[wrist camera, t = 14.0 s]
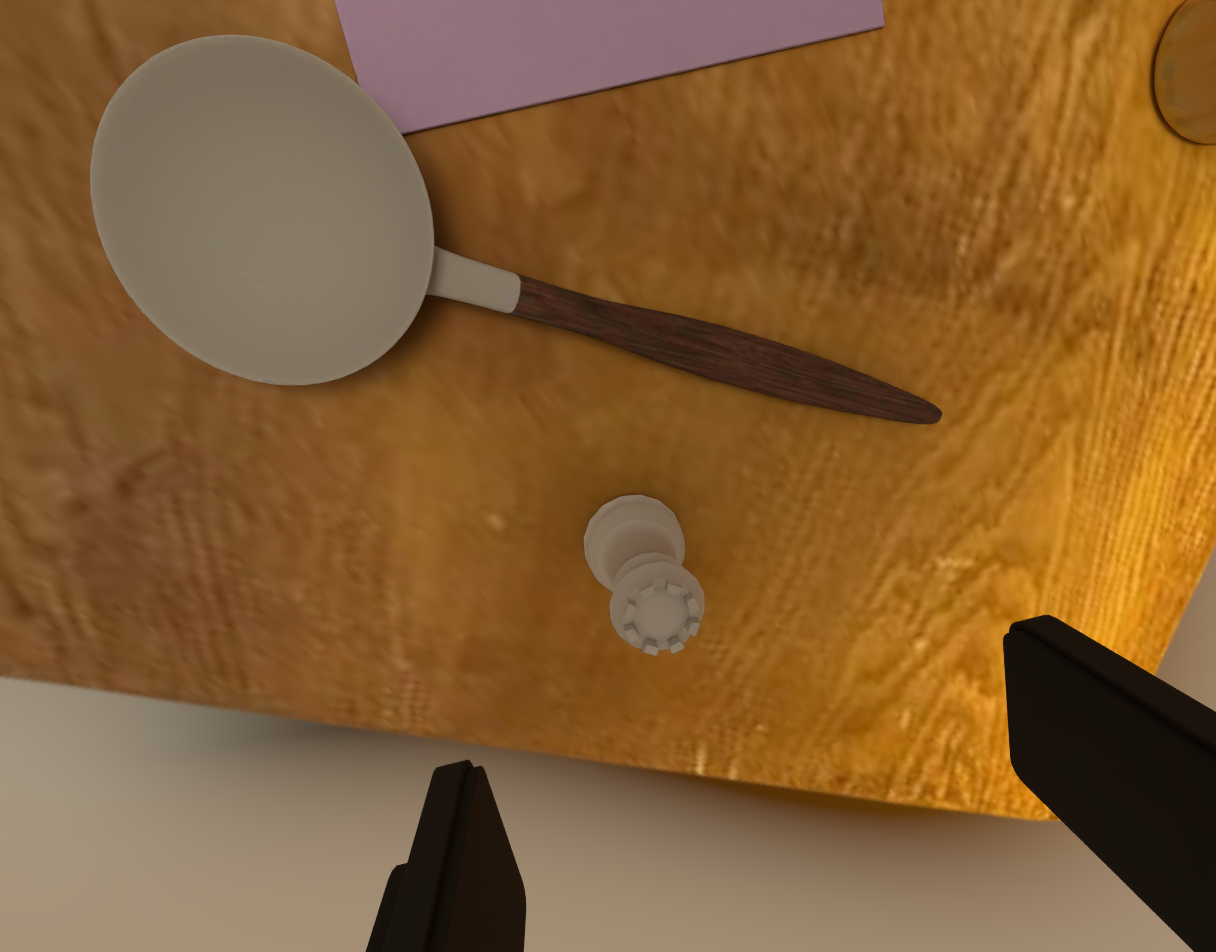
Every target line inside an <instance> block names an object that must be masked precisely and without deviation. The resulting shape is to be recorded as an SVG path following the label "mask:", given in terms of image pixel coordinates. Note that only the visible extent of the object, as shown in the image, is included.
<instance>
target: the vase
mask: <svg viewBox="0 0 1216 952" xmlns="http://www.w3.org/2000/svg"><path fill="white" fill-rule="evenodd" d="M1154 88H1155V95H1156V100H1157V103H1158V106H1159V109H1160V111H1161V114H1162V115H1163V117H1164V119H1165V120H1166V122H1167V123H1168V124H1169V125H1170V127H1171V128H1172V129H1173V130H1175V131H1176V132H1177V133H1178V134H1179V135H1181V136H1182V137H1184V138H1186V139H1188V140H1191V141H1193V142H1197V143H1205V144H1214V143H1216V0H1187V1H1186V2H1185V3H1184V4H1183V5H1182V6H1181V7H1180V9H1179V10H1178V11H1177V12H1176V14H1175V15H1174V17H1173V18H1172V20H1171V21H1170V23H1169V25H1168V27H1167V29H1166V31H1165V33H1164V35H1163V38H1162V40H1161V43H1160V46H1159V49H1158V52H1157V56H1156V62H1155V71H1154Z"/></svg>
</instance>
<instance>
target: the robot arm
mask: <svg viewBox="0 0 1216 952" xmlns="http://www.w3.org/2000/svg"><path fill="white" fill-rule="evenodd" d="M1003 650H1004V666H1005V682H1006V698H1007V714H1008V730H1009V746H1010V759H1011V763H1012V766H1013V768H1014V770H1015V772H1016V774H1017V776H1018V777H1019V779H1020V780H1021V781H1022V782H1023V783H1024V784H1025V785H1026V786H1027V787H1028V788H1029V789H1030V790H1031V791H1032V792H1033V793H1034V794H1035V795H1036V796H1037V797H1038V798H1039V799H1040V800H1041V801H1042V802H1043V803H1044V804H1045V805H1046V806H1047V807H1048V808H1049V809H1050V810H1051V811H1052V812H1053V813H1054V814H1055V815H1056V816H1057V817H1058V818H1059V819H1060V820H1061V821H1062V822H1063V823H1064V824H1065V825H1066V826H1067V827H1069V829H1070V830H1071V831H1072V832H1073V833H1074V834H1076V835H1077V837H1078V838H1080V839H1081V840H1082V841H1083V842H1084V843H1085V844H1086V845H1087V846H1088V847H1089V848H1090V849H1091V850H1092V851H1093V852H1094V853H1095V854H1096V855H1097V856H1098V857H1099V858H1100V859H1101V860H1102V861H1103V862H1104V863H1105V864H1106V865H1107V866H1108V867H1109V868H1110V869H1111V870H1112V871H1113V872H1114V873H1115V874H1116V875H1117V876H1118V877H1119V878H1120V879H1121V880H1122V881H1123V882H1124V883H1125V884H1126V885H1127V886H1128V887H1129V888H1130V889H1131V890H1132V891H1133V892H1134V893H1135V894H1136V895H1137V896H1138V897H1139V898H1140V899H1141V900H1142V901H1143V902H1144V903H1145V904H1146V905H1148V907H1149V908H1150V909H1151V910H1152V911H1153V912H1155V913H1156V914H1157V915H1158V916H1159V917H1160V918H1161V919H1162V920H1163V921H1164V922H1165V923H1166V924H1167V925H1168V926H1169V927H1170V928H1171V929H1172V930H1173V931H1174V932H1175V933H1176V934H1177V935H1178V936H1179V937H1180V938H1181V939H1182V940H1183V941H1184V942H1185V943H1186V944H1187V945H1188V946H1189V947H1190V948H1191V949H1192V950H1193V951H1194V952H1216V712H1215V711H1213V710H1212V709H1210V708H1208V707H1206V706H1205V705H1203V704H1201V703H1200V702H1198V701H1196V700H1194V699H1193V698H1191V697H1189V696H1188V695H1186V694H1184V693H1182V692H1181V691H1179V690H1177V689H1176V688H1174V687H1172V686H1171V685H1169V684H1167V683H1166V682H1164V681H1162V680H1160V679H1159V678H1157V677H1155V676H1154V675H1152V674H1150V673H1149V672H1147V671H1145V670H1144V669H1142V668H1140V667H1138V666H1137V665H1135V664H1133V663H1132V662H1130V661H1128V660H1127V659H1125V658H1123V657H1121V656H1120V655H1118V654H1116V653H1115V652H1113V651H1111V650H1110V649H1108V648H1106V647H1105V646H1103V645H1101V644H1099V643H1098V642H1096V641H1094V640H1093V639H1091V638H1089V637H1088V636H1086V635H1084V634H1082V633H1081V632H1079V631H1077V630H1076V629H1074V628H1072V627H1071V626H1069V625H1067V624H1065V623H1064V622H1062V621H1060V620H1059V619H1057V618H1055V617H1053V616H1050V615H1042V616H1038V617H1034V618H1030V619H1026V620H1022V621H1018V622H1015V623H1013V624H1011V626H1010V628H1009V633H1007V634H1005V636H1004V638H1003ZM525 920H526V896H525V889H524V885H523V881H522V878H521V875H520V873H519V870H518V866H517V864H516V861H515V858H514V855H513V852H512V849H511V846H510V843H509V840H508V837H507V834H506V831H505V828H504V825H503V822H502V819H501V817H500V814H499V811H498V808H497V805H496V802H495V799H494V796H493V793H492V790H491V788H490V785H489V782H488V779H487V775H486V773H485V771H484V768H483V767H482V766H478V767H473V765H472V763H471V762H470V760H465V761H460V762H457V763H453V764H448V765H444V766H441V767H437V768H436V769H435V770H434V772H433V775H432V779H431V782H430V786H429V789H428V792H427V796H426V799H425V803H424V807H423V810H422V813H421V817H420V821H419V824H418V827H417V831H416V835H415V838H414V841H413V845H412V848H411V852H410V855H409V859H408V862H407V863H405V864H401V865H397V866H396V867H395V868H394V869H393V871H392V872H391V875H390V877H389V879H388V882H387V886H386V888H385V892H384V895H383V898H382V901H381V904H380V908H379V911H378V914H377V917H376V921H375V924H374V927H373V930H372V933H371V936H370V940H369V943H368V946H367V949H366V952H524V938H525Z"/></svg>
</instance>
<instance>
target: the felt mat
mask: <svg viewBox="0 0 1216 952" xmlns="http://www.w3.org/2000/svg"><path fill="white" fill-rule="evenodd" d="M334 2H335V5H336V8H337V12H338V15H339V19H340V22H341V25H342V29H343V32H344V36H345V39H346V43H347V46H348V49H349V53H350V56H351V60H352V63H353V67H354V70H355V73H356V77H357V80H358V84H359V86H360V87H361V88H363V89H364V90H365V91H366V92H367V93H368V94H369V95H370V96H371V97H372V98H373V99H374V100H375V101H376V102H377V103H378V105H379V106H380V107H381V108H382V109H383V110H384V112H385V113H386V114H387V115H388V116H389V118H390V119H391V120H392V122H393V123H394V124H395V126H396V127H397V128H398V130H399V132H400V133H401V135H404V134H409V133H413V132H418V131H422V130H427V129H431V128H436V127H440V126H445V125H449V124H453V123H458V122H462V121H467V120H471V119H476V118H480V117H485V116H489V115H494V114H498V113H503V112H507V111H512V110H516V109H520V108H525V107H529V106H534V105H538V104H543V103H547V102H552V101H556V100H561V99H565V98H570V97H574V96H579V95H583V94H588V93H592V92H596V91H601V90H605V89H610V88H614V87H619V86H623V85H628V84H632V83H637V82H641V81H646V80H650V79H655V78H659V77H664V76H668V75H672V74H677V73H681V72H686V71H690V70H695V69H699V68H704V67H708V66H713V65H717V64H722V63H726V62H731V61H735V60H739V59H744V58H748V57H753V56H757V55H762V54H766V53H771V52H775V51H780V50H784V49H789V48H793V47H798V46H802V45H807V44H811V43H815V42H820V41H824V40H829V39H833V38H838V37H842V36H847V35H851V34H856V33H860V32H865V31H869V30H874V29H878V28H882V27H883V26H884V25H885V23H884V13H883V3H882V0H334Z"/></svg>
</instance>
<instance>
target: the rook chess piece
mask: <svg viewBox="0 0 1216 952" xmlns="http://www.w3.org/2000/svg"><path fill="white" fill-rule="evenodd" d="M584 548H585V557H586V559H587V561H588V565H589V567H590V569H591V571H592V572H593V574H594V576H595V578H596V580H597V581H599V582H600V583H601V584H603V585H604V586H605V587H606V588H608V589H609V590H610V591H612V592H613V595H612V598H611V601H610V616H611V622H612V624H613V626H614V627H615V629H616V631H617V633H618V635H619V636H620V637H621V638H622V639H624V640H625V641H626V642H628V643H629V644H630V645H632V646H633V647H636V648H640V649H642V651H643V652H644V653H648V654H651V655H655V656H657V653H658V651H659V650H668V649H670V651H671V653H672V654H674V653H676V652H678V651H680V650H682V649H684V648H685V646H684V643H683V642H685V641H686V640H687V639H688V638H689V637H690V636H691V635H693V636H695V637H696V634H697V632H698V629H699V627H700V624H701V623H700V622H701V620H702V617H703V615H704V612H705V601H704V592H703V590H702V588H701V586H700V584H699V582H698V580H697V578H696V577H694V576H693V575H692V574H691V573H690V572H688V571H687V570H686V569H685V568H683V567H682V562H683V560H684V557H685V542H684V534H683V532H682V529H681V527H680V525H679V523H678V521H677V518H676V516H675V514H674V512H672V511H671V510H670V509H669V508H668V507H666V506H665V505H664V504H663V503H662V502H661V501H659V500H657V499H653V498H650V497H647V496H644V495H630V496H620V497H618V498H616V499H614V500H612V501H610V502H608V503H606V504H604V505H603V506H602V507H601V508H600V509H599V510H598V511H597V512H596V514H595V515H594V516H593V517H592V518H591V519H590V521H589V524H588V527H587V530H586V533H585V536H584Z"/></svg>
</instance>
